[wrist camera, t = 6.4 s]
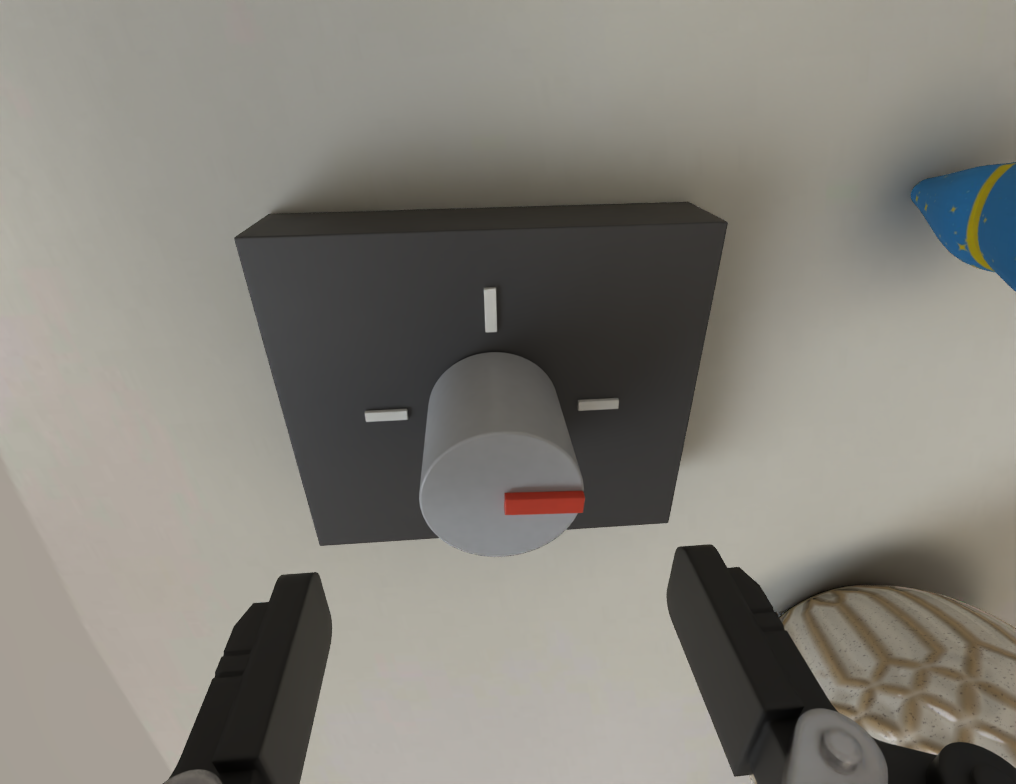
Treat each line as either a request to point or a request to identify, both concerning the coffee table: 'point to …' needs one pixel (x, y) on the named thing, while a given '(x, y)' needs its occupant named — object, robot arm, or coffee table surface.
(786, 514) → the coffee table surface
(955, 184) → the ornament
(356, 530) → the rotary dial panel
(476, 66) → the coffee table surface
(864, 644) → the vase
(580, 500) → the control knob
